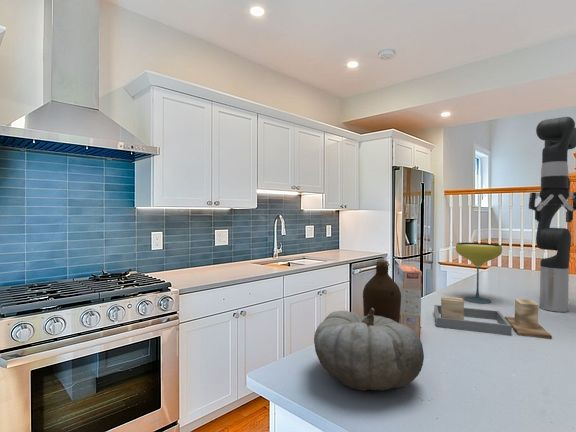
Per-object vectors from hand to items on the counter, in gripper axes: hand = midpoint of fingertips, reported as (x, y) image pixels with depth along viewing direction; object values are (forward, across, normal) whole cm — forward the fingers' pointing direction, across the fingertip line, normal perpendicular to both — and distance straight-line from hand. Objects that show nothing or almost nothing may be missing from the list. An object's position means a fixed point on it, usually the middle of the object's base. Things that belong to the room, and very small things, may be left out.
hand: (553, 221), depth 121 cm
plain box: (+36, +32, +9) cm, 49 cm away
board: (+36, +10, +8) cm, 38 cm away
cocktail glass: (+36, +19, -28) cm, 50 cm away
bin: (+36, +27, +9) cm, 46 cm away
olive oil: (+36, +54, +44) cm, 79 cm away
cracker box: (+36, +47, +26) cm, 65 cm away
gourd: (+36, +56, +64) cm, 93 cm away
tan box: (+35, +10, +8) cm, 37 cm away
